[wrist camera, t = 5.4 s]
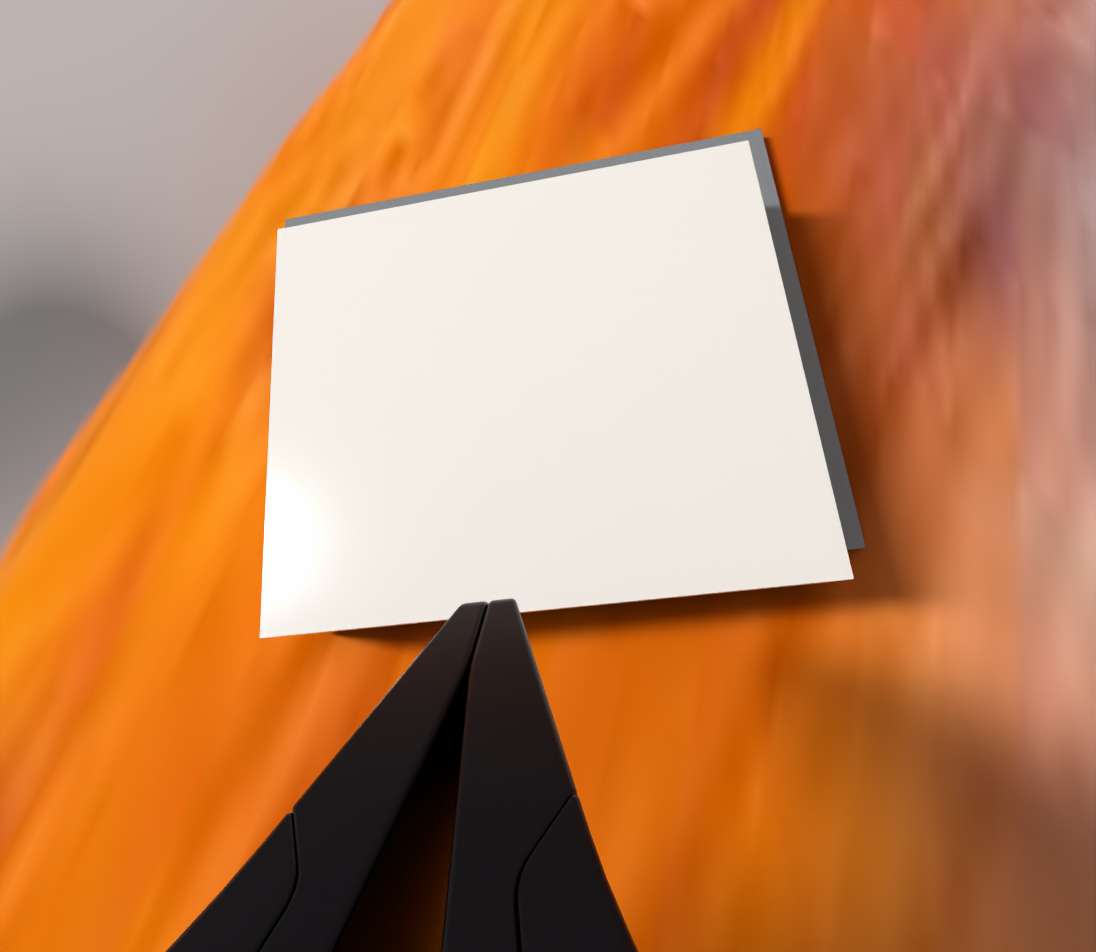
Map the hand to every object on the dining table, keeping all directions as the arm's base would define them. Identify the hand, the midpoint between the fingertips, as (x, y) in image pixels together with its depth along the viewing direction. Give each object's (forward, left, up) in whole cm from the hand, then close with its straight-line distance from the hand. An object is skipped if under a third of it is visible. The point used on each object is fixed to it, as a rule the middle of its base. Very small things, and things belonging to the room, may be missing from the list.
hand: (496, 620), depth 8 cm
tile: (0, 0, -6) cm, 6 cm away
